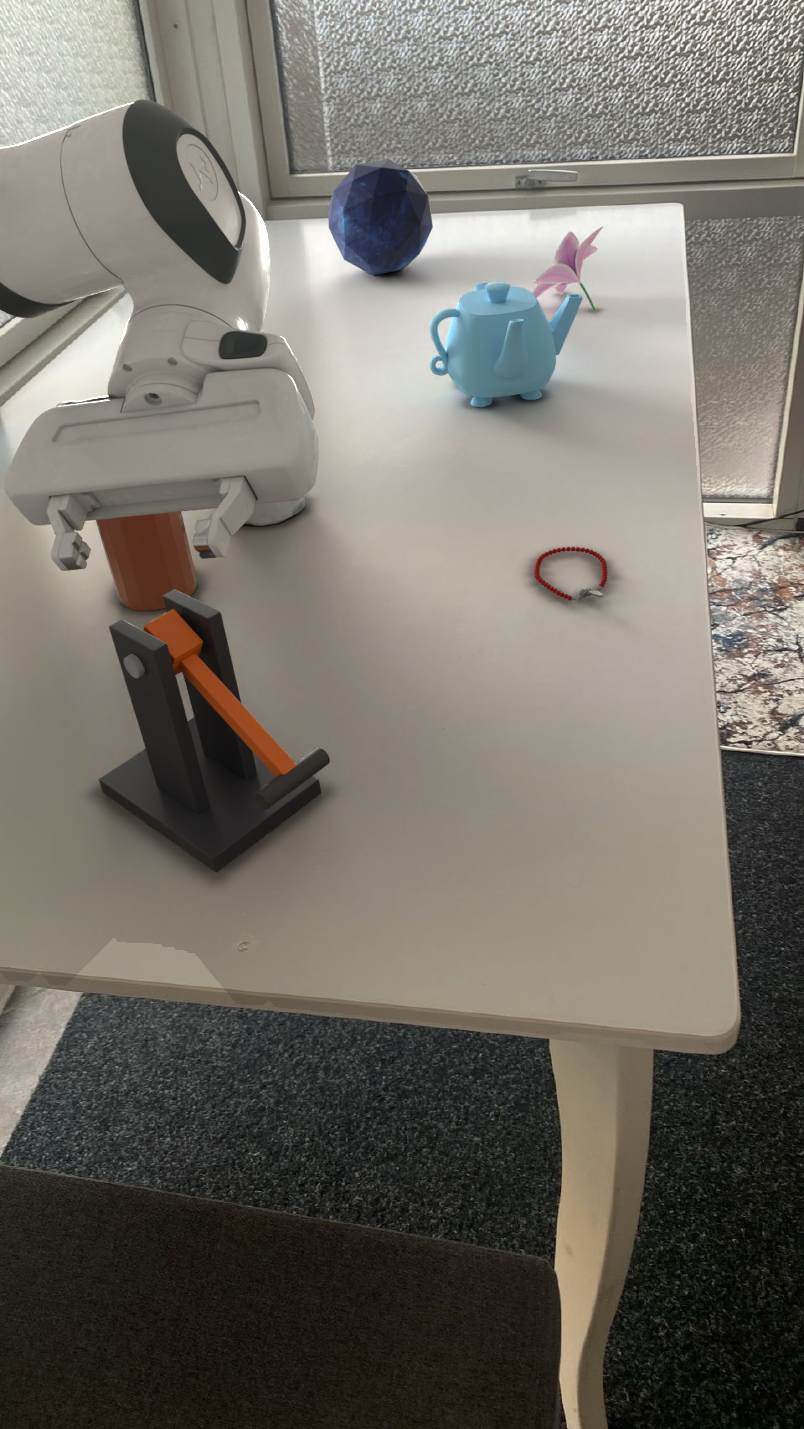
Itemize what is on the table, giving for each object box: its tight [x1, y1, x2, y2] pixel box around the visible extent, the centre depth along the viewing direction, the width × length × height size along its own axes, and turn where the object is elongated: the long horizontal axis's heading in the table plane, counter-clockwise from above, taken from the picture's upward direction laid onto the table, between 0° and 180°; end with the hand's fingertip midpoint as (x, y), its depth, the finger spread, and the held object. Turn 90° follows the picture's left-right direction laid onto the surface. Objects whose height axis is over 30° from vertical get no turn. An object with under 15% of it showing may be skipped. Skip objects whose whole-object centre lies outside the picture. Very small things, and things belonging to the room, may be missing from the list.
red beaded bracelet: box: [534, 546, 608, 602], centre depth 90 cm, size 9×6×1 cm
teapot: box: [429, 281, 583, 408], centre depth 119 cm, size 15×14×11 cm
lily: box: [532, 225, 604, 311], centre depth 139 cm, size 12×12×10 cm
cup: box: [95, 511, 198, 612], centre depth 92 cm, size 7×7×10 cm
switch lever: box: [142, 609, 331, 810], centre depth 66 cm, size 13×5×2 cm
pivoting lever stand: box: [98, 589, 322, 873], centre depth 70 cm, size 12×9×14 cm
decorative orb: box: [327, 158, 434, 276], centre depth 155 cm, size 14×15×15 cm
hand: (136, 558), depth 67 cm, fingers open, 8 cm apart
